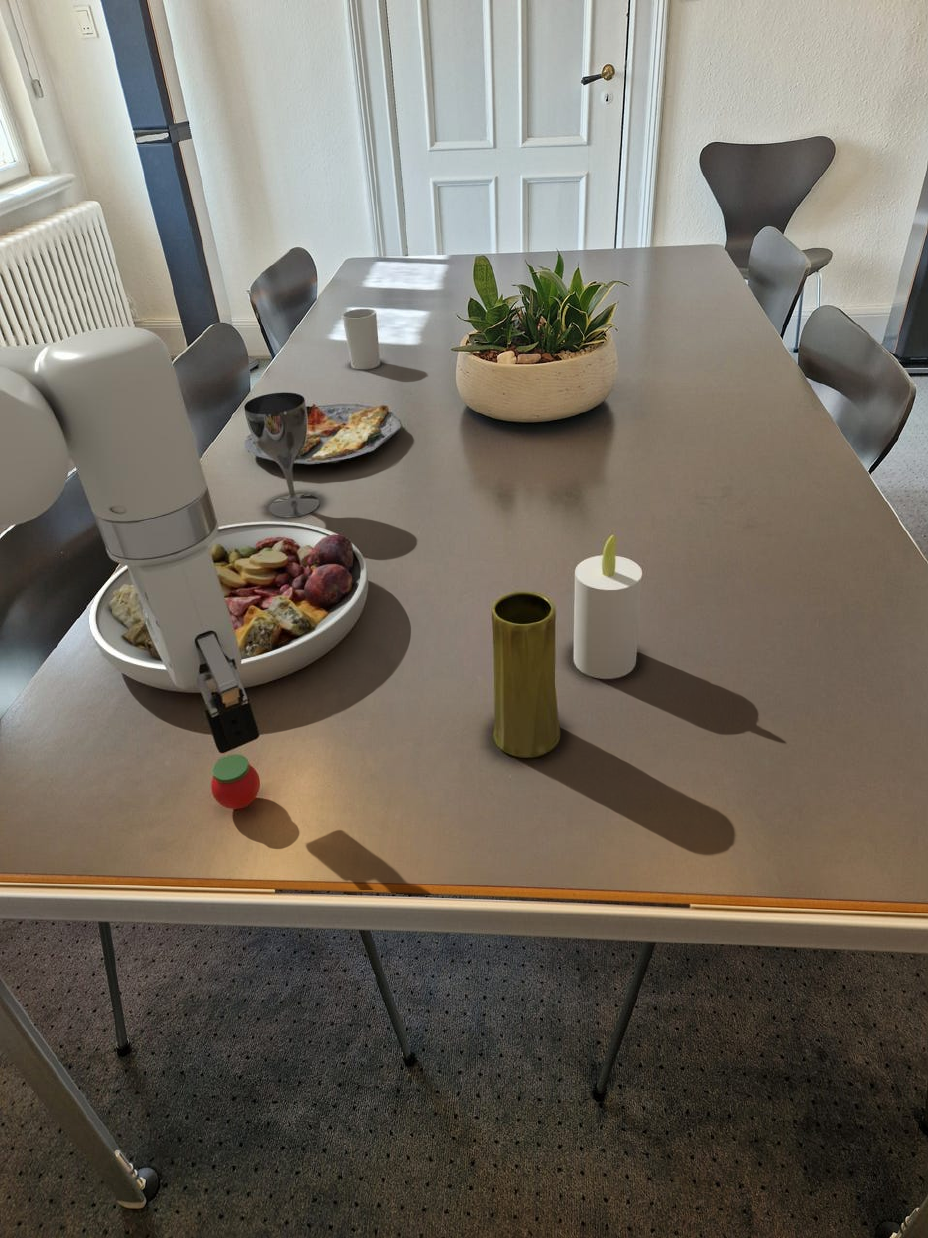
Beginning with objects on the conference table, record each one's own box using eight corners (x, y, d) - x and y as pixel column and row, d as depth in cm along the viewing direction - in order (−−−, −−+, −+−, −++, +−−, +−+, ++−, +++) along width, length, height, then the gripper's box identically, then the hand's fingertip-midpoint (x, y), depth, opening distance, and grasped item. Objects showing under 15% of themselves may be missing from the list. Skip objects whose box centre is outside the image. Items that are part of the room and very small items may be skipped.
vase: (552, 764, 75) (551, 633, 67) (485, 753, 77) (477, 623, 68) (566, 719, 80) (567, 591, 72) (503, 709, 81) (497, 583, 73)
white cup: (385, 366, 168) (379, 315, 162) (352, 372, 167) (345, 320, 161) (378, 357, 173) (372, 306, 168) (346, 362, 172) (339, 311, 166)
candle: (616, 634, 90) (622, 507, 82) (647, 669, 85) (658, 538, 76) (562, 649, 89) (563, 522, 80) (591, 685, 83) (595, 553, 75)
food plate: (303, 410, 151) (300, 390, 149) (422, 420, 143) (421, 400, 141) (222, 468, 132) (217, 446, 130) (354, 484, 124) (351, 461, 122)
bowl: (119, 747, 80) (93, 682, 76) (90, 596, 103) (69, 540, 99) (412, 652, 90) (404, 589, 85) (326, 533, 113) (317, 479, 108)
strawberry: (226, 828, 71) (214, 791, 69) (212, 799, 74) (200, 762, 72) (271, 808, 73) (261, 771, 70) (255, 780, 76) (245, 743, 73)
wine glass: (334, 499, 121) (317, 397, 112) (296, 523, 115) (276, 418, 107) (292, 488, 125) (273, 389, 116) (254, 511, 119) (231, 408, 111)
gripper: (77, 491, 63) (146, 672, 72) (131, 594, 50) (205, 796, 60) (177, 462, 65) (230, 640, 75) (252, 553, 53) (304, 752, 63)
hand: (219, 709), depth 68 cm, fingers open, 9 cm apart
